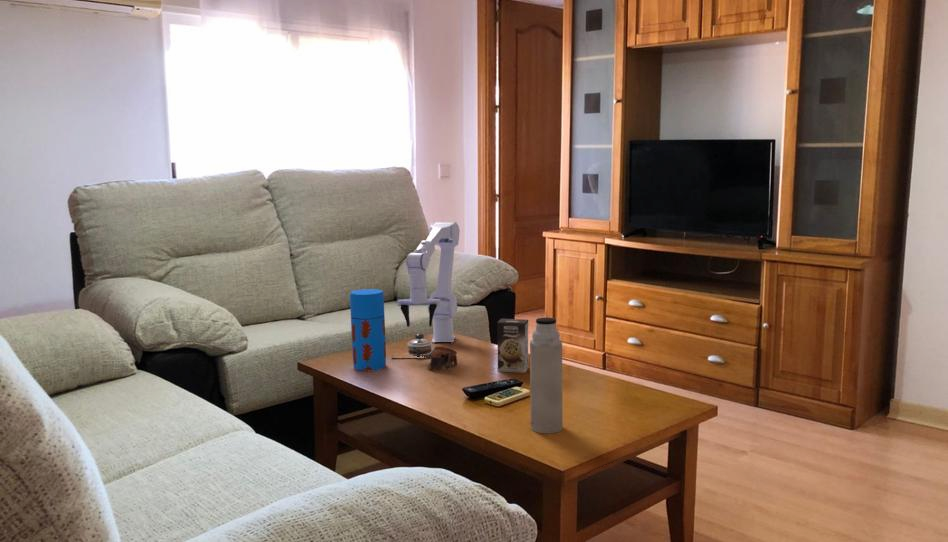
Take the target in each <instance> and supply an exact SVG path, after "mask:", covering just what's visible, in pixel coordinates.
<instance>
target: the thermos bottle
mask: <svg viewBox="0 0 948 542" xmlns="http://www.w3.org/2000/svg"><path fill="white" fill-rule="evenodd" d="M556 322H557V320H556V318H554V317H538V318H536V320H535V323H536V324H535V330H533V331H532V335H531V340H529V356H530V357H529V359H530V360H529V361H530V362H529V372H530V374H529V385H530V386H529V387H530V389H529V390H530V391H529V395H530V399H529V401H530V404H529V405H530V429H531V430H532V431H533V432H535V433H538V434H539V433H540V434H555V433H559V432H561V431H562V430H563V423H564V422H563V420H564V419H563V418H564V417H563V340H562V339H560V336H561V335H560V331H559V330H557V328H556V326H557V325H556Z"/></svg>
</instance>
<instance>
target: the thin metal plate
mask: <svg viewBox="0 0 948 542" xmlns="http://www.w3.org/2000/svg"><path fill="white" fill-rule="evenodd" d="M428 341H429V343H428V344H425V345H412V344H410V341H408V342H407V349H408V354H409V355H413V356H417V357H420V356H422V357H423V356H424V359H431V357H432V356H431V355H430V354H431V353H432V352H433V351H434V350H435V349H434V348H435V347H432V344H433V343H432V341H430V340H428ZM431 348H433V350H432V349H431ZM425 357H426V358H425ZM392 358H393V357H392V356H391V359H392ZM395 358H396V357H395Z"/></svg>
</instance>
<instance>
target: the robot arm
mask: <svg viewBox="0 0 948 542" xmlns="http://www.w3.org/2000/svg"><path fill="white" fill-rule="evenodd" d="M460 230H461V229H460V227H459V224H458V223H457V222H456V221H453V222H449V221H448V222H443V221H442V222H441V221H440V222H438V221H432V222H431V224H430V225H429V235H427V238H426V239H425V240H424V239H423V240H421V242H419V244H418V246H417V247H416V248H415V250H414V251H413V252H410V253H409V254H407V255H406V259H405V266H406V268H407V274H408V275H409V298H404V299H403V298H402V299H397V300H396V301H397V302H396V303H397V307H400V311H401V312H402V314H403V317H404V319H405V321H406V322H405V323H406V327H408V328H409V327H410V325H411V321H410V306H427V312H428V314H429V315H428V316H429V321H428V324H429V325H428V326H429V327H432V329H433V337H432V339H431V342H433V343H432V344H436V343H435V342H451V343H454V342H455V337H456V336H455V335H454V334H453V333H454V332H453V329H454V328H453V327H454V326H453V325H454V324H453V318H454V317H455V316H456V315H457V312H458V302H457V298H458V297H457V296H456V295H455V294H454V293H453V292H452V291H451V286H452V278H453V277H452V276H453V275H452V274H453V266H454V257H455V248H456V247H457V246H459V241H460ZM435 246H438V247H439V248H440V256H439V266H438V276H437V286H436V290H434V292H432V293H431V294H430V297H429V298H428V292H427V291H428V289H427V269H428V268H429V264H430V260H431V259H430V258H431V257H432V256H433V254H434V253H435V251H436V247H435ZM432 325H433V326H432Z"/></svg>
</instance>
